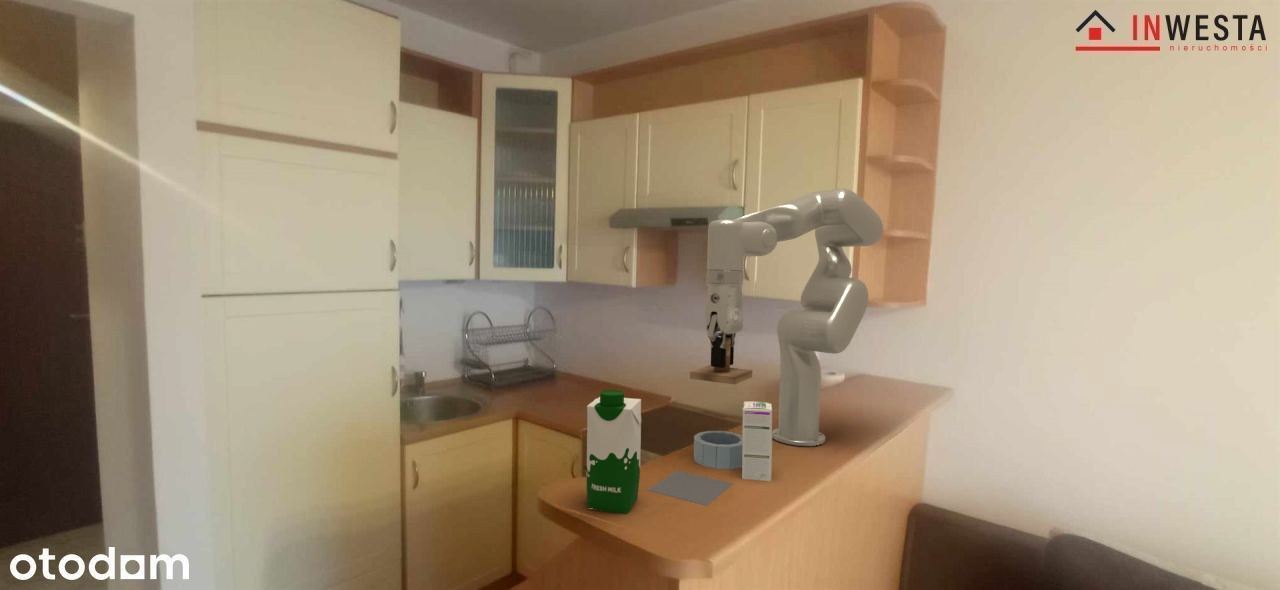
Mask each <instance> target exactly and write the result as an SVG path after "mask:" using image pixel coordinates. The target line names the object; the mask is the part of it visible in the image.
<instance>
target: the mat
mask: <svg viewBox="0 0 1280 590" xmlns="http://www.w3.org/2000/svg"><path fill="white" fill-rule="evenodd" d="M733 485H734V482H729V481H725V480H720V479H717V478H712V477H707V476H702V475H699V474H694V473H689V472H685V471H681V470H675V471H674V472H673V473H671V474H670V475H668V476H667V477H665V478H664V479H662V480H660V481H658V483H655V484H654V485H653V486H651V487H649V488H648V489H647V491H649V492H652V493H655V494H656V493H657V494H659V495H660V494H661V495H663V496H668V497H672V498H675V499H680V500H683V501H688V502H690V503H695V504H699V505H703V506H706V507H708V506H709V505H710V504H711V503H712V502H713V501H715V500H716V499H717V498H718V497H720V496H721V495H722V494H723V493H724V492H725V491H727V490H728V489H729V488H730V487H732V486H733Z"/></svg>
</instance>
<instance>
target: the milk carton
mask: <svg viewBox="0 0 1280 590" xmlns="http://www.w3.org/2000/svg"><path fill="white" fill-rule="evenodd" d="M586 411H587V412H586V413H587V415H586V417H587V418H586V420H587V424H586V425H587V428H586V429H587V431H586V433H587V434H586V499H587V500H586V502H587V509H588V508H593V509H596V510H595V511H597V510H602V511H601V512H605V511H606V512H607V513H613V514H623V515H628V514H629V513H630V511H631V509H632V508H633V506H634V505H635V503H636V501H637V499H638V495H639V486H640V479H641V477H640V476H641V451H642V449H641V445H642V444H641V443H642V436H641V435H642V415H641V414H642V399H641V398H630V397H625V392H624V391H621V390H615V389H609V390H607V389H606V390H602V391H601V392H600V393H599V397H598V398H595V399H593V401H591V402H590V403H589V404H588V405H587V406H586Z"/></svg>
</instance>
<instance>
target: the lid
mask: <svg viewBox="0 0 1280 590" xmlns="http://www.w3.org/2000/svg"><path fill="white" fill-rule="evenodd" d="M719 338H720V340H721V336H719ZM730 347H731V338H728V337H725V347H724V348H725V349H726V367H725V368H720V367H712V366H711V364H710V365H707V366H706V365H705V366H704V367H700V368H697V369H694V370H690V372H689V379H690V380H697V381H705V382H713V383H721V384H727V385H737V384H740V383H742V382H744V381H747V380H749V379H751V378H753V370H752V369H745V368H737V367H736V368H735V367H731V365H730Z"/></svg>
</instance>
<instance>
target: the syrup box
mask: <svg viewBox="0 0 1280 590" xmlns="http://www.w3.org/2000/svg"><path fill="white" fill-rule="evenodd" d="M742 404H743V405H742V433H741V435H742V467H741V479H742V480H749V481H750V480H751V481H753V480H754V481H761V482H764V481H765V482H772V471H773V470H772V466H773V437H772V431H773V407H772V403H771V402H766V401H755V400H754V401H753V400H751V401H743V403H742Z"/></svg>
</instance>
